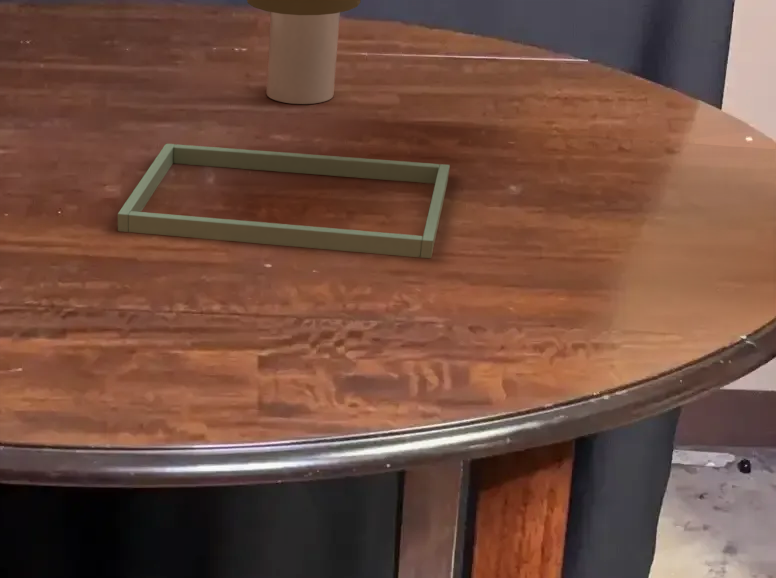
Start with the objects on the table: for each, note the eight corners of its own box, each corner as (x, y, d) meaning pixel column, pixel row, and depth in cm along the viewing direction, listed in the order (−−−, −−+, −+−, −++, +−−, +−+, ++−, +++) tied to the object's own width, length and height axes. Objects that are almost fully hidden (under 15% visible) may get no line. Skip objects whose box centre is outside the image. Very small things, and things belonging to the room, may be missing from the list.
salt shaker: (338, 86, 109) (350, -76, 103) (329, 106, 105) (342, -61, 99) (272, 82, 110) (280, -79, 104) (261, 101, 106) (269, -65, 100)
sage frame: (445, 199, 90) (449, 164, 89) (428, 278, 81) (433, 240, 80) (165, 176, 94) (165, 143, 93) (117, 249, 84) (117, 213, 83)
